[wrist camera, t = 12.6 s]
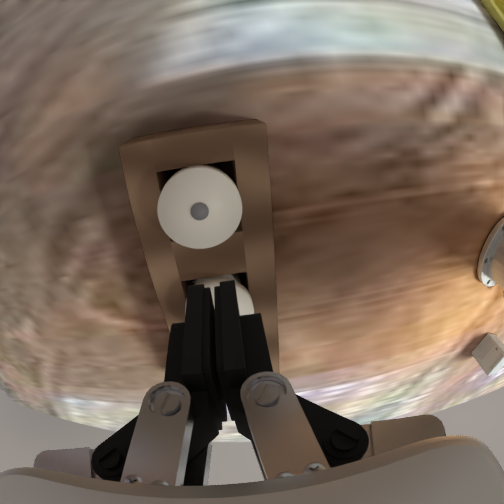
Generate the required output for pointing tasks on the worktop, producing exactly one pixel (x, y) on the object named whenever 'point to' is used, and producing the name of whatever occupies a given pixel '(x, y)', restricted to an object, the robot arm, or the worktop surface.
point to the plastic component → (495, 10)
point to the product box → (490, 354)
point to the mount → (231, 250)
